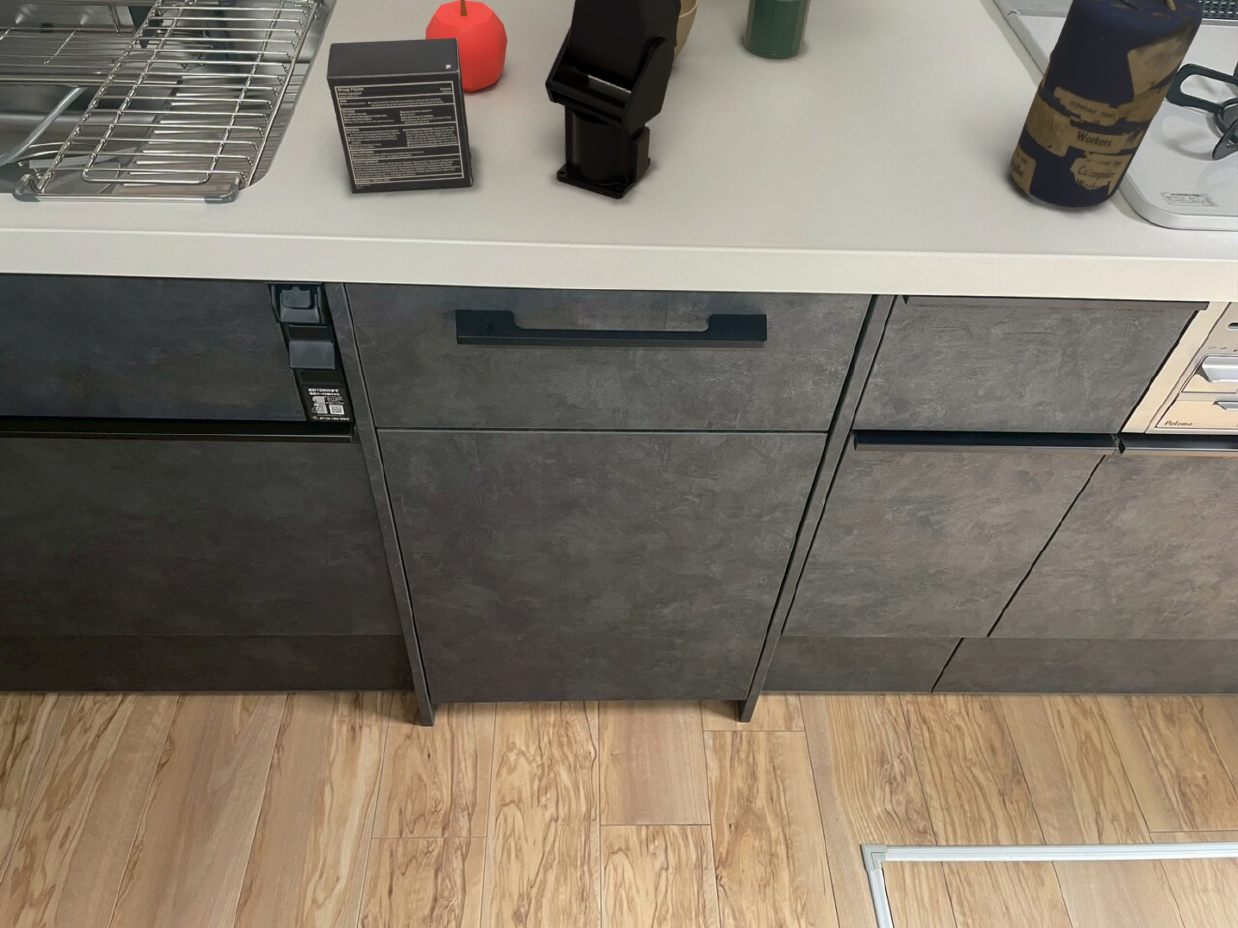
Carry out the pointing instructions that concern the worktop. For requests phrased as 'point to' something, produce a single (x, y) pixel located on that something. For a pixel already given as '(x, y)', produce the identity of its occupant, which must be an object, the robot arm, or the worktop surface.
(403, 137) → the small box
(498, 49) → the apple
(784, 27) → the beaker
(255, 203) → the worktop surface
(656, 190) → the worktop surface
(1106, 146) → the canister
